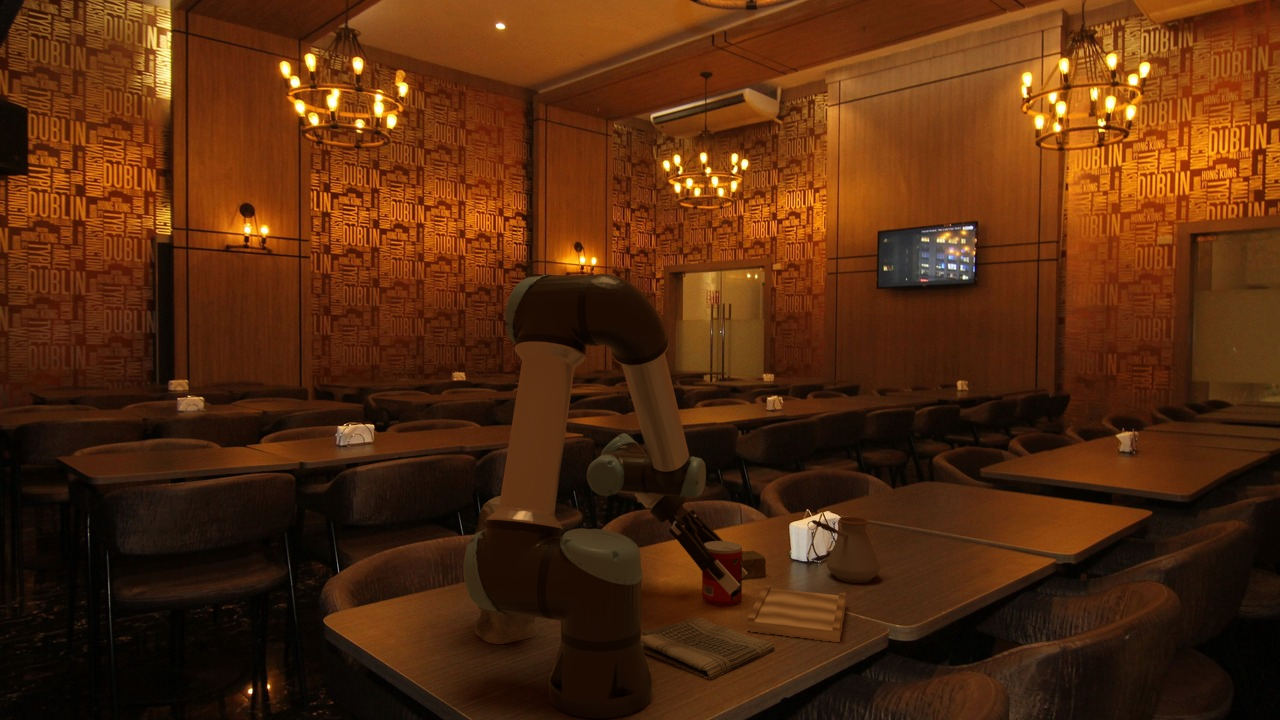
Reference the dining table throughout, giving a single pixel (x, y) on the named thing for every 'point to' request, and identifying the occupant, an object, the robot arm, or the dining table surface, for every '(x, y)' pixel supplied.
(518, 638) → the figurine
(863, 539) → the coffee pot
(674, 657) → the dish towel
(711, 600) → the canned food
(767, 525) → the dining table surface
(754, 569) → the stone block
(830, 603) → the board
